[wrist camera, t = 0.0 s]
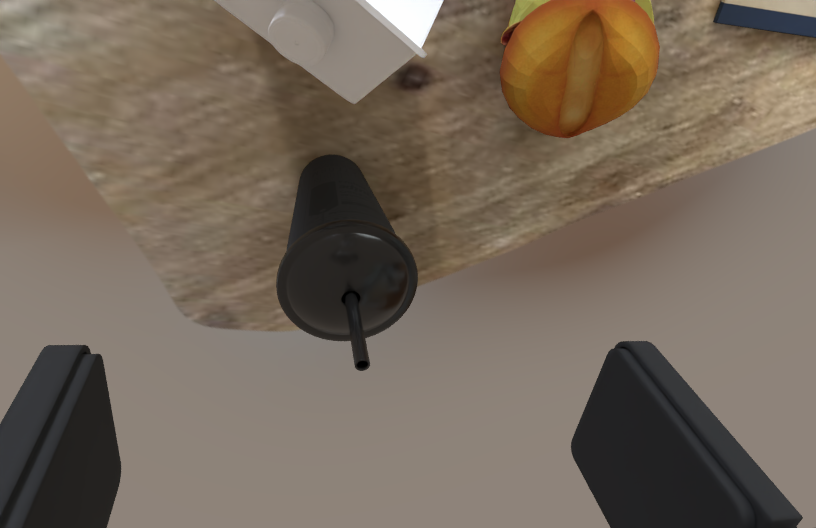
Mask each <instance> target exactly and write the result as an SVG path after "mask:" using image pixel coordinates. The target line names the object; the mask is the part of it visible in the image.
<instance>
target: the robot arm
mask: <svg viewBox="0 0 816 528" xmlns="http://www.w3.org/2000/svg"><path fill="white" fill-rule="evenodd" d="M571 450H572V455H573V458H574V460H575V462H576V464H577V466H578V467H579V469H580V471H581V473H582V475H583V477H584V478H585V480H586V482H587V484H588V486H589V488H590V490H591V492H592V493H593V495H594V497H595V499H596V501H597V503H598V505H599V507H600V508H601V510H602V512H603V514H604V516H605V518H606V520H607V522H608V524H609V525H610V527H611V528H797V527H796V526H797V525H798V523H799V522H800V521H801V520H802V518H803V517H802V516H801V515H800V514H799V512H798V511H797V510H796V509H795V508H794V507H793V506H792V504H791V503H790V502H789V501H788V500H787V499H786V497H785V496H784V495H783V494H782V493H781V492H780V490H779V489H778V488H777V487H776V486H775V485H774V483H773V482H772V481H771V480H770V479H769V478H768V476H767V475H766V474H765V473H764V472H763V471H762V470H761V468H760V467H759V466H758V465H757V464H756V463H755V462H754V460H753V459H752V458H751V457H750V456H749V455H748V453H747V452H746V451H745V450H744V449H743V448H742V446H741V445H740V444H739V443H738V442H737V441H736V439H735V438H734V437H733V436H732V435H731V434H730V433H729V431H728V430H727V429H726V428H725V427H724V426H723V424H722V423H721V422H720V421H719V420H718V419H717V417H716V416H715V415H714V414H713V413H712V412H711V411H710V409H709V408H708V407H707V406H706V405H705V404H704V402H703V401H702V400H701V399H700V398H699V397H698V395H697V394H696V393H695V392H694V391H693V390H692V389H691V388H690V386H689V385H688V384H687V383H686V382H685V381H684V380H683V378H682V377H681V376H680V375H679V374H678V372H677V371H676V370H675V369H674V368H673V367H672V365H671V364H670V363H669V362H668V361H667V360H666V359H665V357H664V356H663V355H662V354H661V353H660V352H659V351H658V349H657V348H656V347H655V346H654V345H653V344H652V343H650V342H647V341H625V342H624V341H623V342H619V343H618V344H617V345H616V346H615V348H614V349H611V350H610V351H609V352H608V354H607V356H606V359H605V361H604V364H603V366H602V369H601V371H600V374H599V376H598V378H597V381H596V383H595V386H594V388H593V390H592V393H591V395H590V398H589V400H588V402H587V405H586V407H585V410H584V412H583V414H582V417H581V419H580V422H579V424H578V426H577V429H576V431H575V434H574V436H573V439H572V442H571ZM120 477H121V461H120V456H119V450H118V444H117V438H116V433H115V427H114V421H113V416H112V410H111V404H110V399H109V392H108V387H107V381H106V375H105V369H104V364H103V359H102V356H101V355H100V354H91V353H90V349H89V348H88V346H86V345H48V346H46V347H44V349H43V350H42V352H41V353H40V355H39V357H38V358H37V360H36V362H35V364H34V365H33V367H32V369H31V371H30V372H29V374H28V376H27V378H26V379H25V381H24V383H23V385H22V386H21V388H20V390H19V392H18V394H17V395H16V397H15V399H14V401H13V402H12V404H11V406H10V408H9V409H8V411H7V413H6V415H5V417H4V418H3V420H2V422H1V424H0V528H106V527H107V524H108V521H109V517H110V514H111V511H112V507H113V504H114V501H115V497H116V494H117V491H118V487H119V483H120Z"/></svg>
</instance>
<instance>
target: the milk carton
mask: <svg viewBox="0 0 816 528" xmlns="http://www.w3.org/2000/svg"><path fill="white" fill-rule="evenodd" d="M214 1H215V2H217V3H218V4H219V5H220V6H222V7H223V8H224V9H226V10H227V11H228V12H230V13H231V14H232V15H234V16H235V17H236V18H238V19H239V20H240V21H242V22H243V23H244V24H245V25H247V26H248V27H249V28H251V29H252V30H253V31H255V32H256V33H257V34H259V35H260V36H261V37H263V38H264V39H265V40H267V41H268V42H269V43H271V44H272V45H273V46H274V47H275V49H276V50H277V51H278V52H279V53H280V54H281V55H283V56H284V57H285V58H287V59H288V60H290V61H292V62H294V63H296V64H299V65H300V66H301V67H303V68H304V69H305V70H307V71H308V72H309V73H311V74H312V75H313V76H315V77H316V78H317V79H319V80H320V81H321V82H323V83H324V84H325V85H327V86H328V87H329V88H331V89H332V90H333V91H335V92H336V93H337V94H339V95H340V96H342V97H343V98H344V99H346V100H347V101H349V102H351V103H353V104H356V103H357V102H358V101H359V100H361V99H362V98H363V97H364V96H366V95H367V94H368V93H369V92H371V91H372V90H373V89H374V88H375V87H377V86H378V85H379V84H380V83H382V82H383V81H384V80H385V79H387V78H388V77H389V76H390V75H391V74H393V73H394V72H395V71H396V70H398V69H399V68H400V67H401V66H403V65H404V64H405V63H406V62H407V61H409V60H410V59H411V58H412V57H414V56H415V55H416V54H418V55H419V56H420V57H422V58H425V56H426V55H427V53H426V52H425V51H424V50H423V49H421V48H422V46H423V44H424V42H425V40H426V37H427V35H428V33H429V31H430V29H431V27H432V24H433V22H434V20H435V18H436V16H437V14H438V11H439V9H440V7H441V5H442V3H443V1H444V0H214Z"/></svg>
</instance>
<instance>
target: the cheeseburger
mask: <svg viewBox="0 0 816 528" xmlns="http://www.w3.org/2000/svg"><path fill="white" fill-rule="evenodd" d="M501 43H502V44H503V45H506V48H505V50H504V54H503V59H502V64H501V68H500V78H501V86H502V92H503V94H504V96H505V99H506V101H507V103H508V105H509V107H510V109H511V110H512V111H513V112H514V113H515V114H516V115H517V117H518V118H520V119H521V120H522V121H523V122H525V123H526V124H527V125H528V126H530V127H531V128H533V129H535V130H537V131H539V132H541V133H543V134H546V135H550V136H555V137H561V138H570V137H573V136H577V135H579V134H581V133H584V132H586V131H589V130H592V129H594V128H596V127H599V126H601V125H603V124H606V123H608V122H610V121H612V120H614V119H616V118H618V117H619V116H621V115H623V114H624V113H626V112H627V111H629V110H630V109H632V108H633V107H634V106H635V105H636V104H637V103H638V102H639V101H640V100H641V99H642V98H643V97H644V96H645V95H646V94H647V92H648V90H649V88H650V86H651V84H652V82H653V80H654V78H655V76H656V73H657V69H658V60H659V49H660V46H659V42H658V38H657V34H656V29H655V26H654V16H653V11H652V6H651V2H650V0H516V2H515V6H514V8H513V11H512V14H511V17H510V20H509V23H508V28H507V29H506V30H505V31H504V32H503V33H502V36H501Z"/></svg>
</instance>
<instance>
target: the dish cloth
mask: <svg viewBox="0 0 816 528" xmlns="http://www.w3.org/2000/svg"><path fill="white" fill-rule="evenodd" d="M713 22H715V23H721V24H728V25H734V26H741V27H748V28H755V29H761V30H768V31H775V32H781V33H788V34H795V35H802V36H808V37H815V38H816V0H722V1H721V3H720V6H719V8H718V11H717V13H716V16H715V19H714V21H713Z"/></svg>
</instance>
